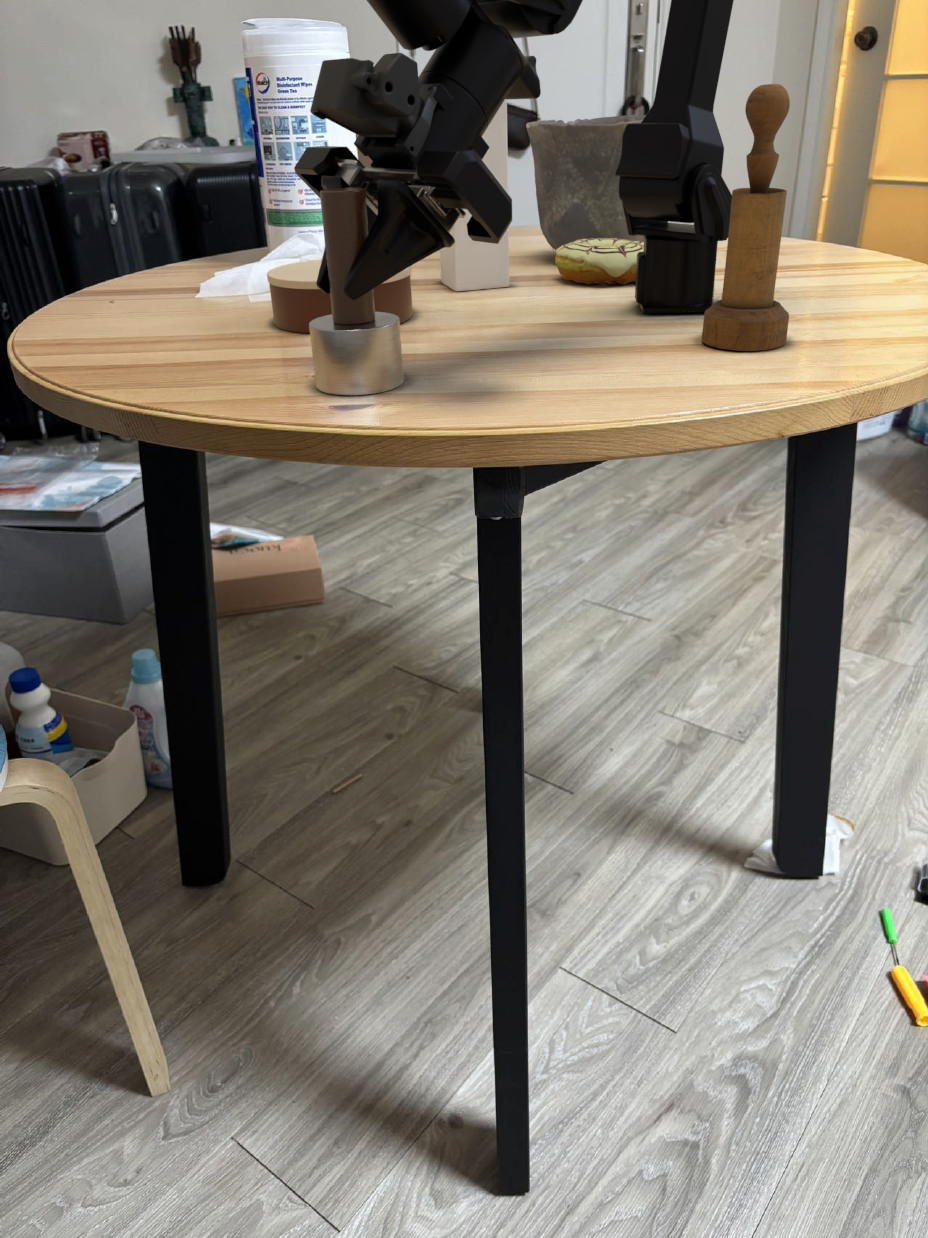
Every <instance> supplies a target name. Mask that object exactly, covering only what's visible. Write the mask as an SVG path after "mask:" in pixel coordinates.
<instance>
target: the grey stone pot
mask: <svg viewBox="0 0 928 1238" xmlns="http://www.w3.org/2000/svg"><path fill="white" fill-rule="evenodd" d="M646 115H647V114H643V115H640V114H637V115H636V114H632V115H631V114H629V115H617V116H603V117H596V118H595V117H594V118H589V119H588V118H584V119H580V118H577V119H575V120H569V121H567V122H565V121H564V120H562V119H558V120H555V119H548V120H546V119H545V120H539V121H537V120H536V121H531V122H530V121H529V122H527V123H526V125H525V127H526V131H527V134H528V138H529V144H530V147H531V152H532V153H531V154H532V158H533V168H534V184H535V196H536V204H537V214H538V221H539V226H540V230H541V233H542V235H543V236H544V238H545V240H546V242H547V243H548V245H549V246H550V248H552V249H553V250H554V251H556V249H558V248H559V247H561V246H563V245H565V244H569V243H571V242H573V241H576V240H579V239H592V238H615V239H625V240H633V241H639V242H644V236H643V235H635V236H633V235H629V234H628V229H627V224H626V219H625V214H624V209H623V204H622V200H620V198H619V191H618V190H619V178H620V176H616V175H615V172H616V170H617V167H618V165H619V162H620V158H621V153H622V139H623V133H624V130H625V128H626V126H627V124H628V123H641V122H642V120H643V119H644V118H645V116H646Z"/></svg>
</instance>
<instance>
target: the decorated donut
mask: <svg viewBox="0 0 928 1238" xmlns="http://www.w3.org/2000/svg"><path fill="white" fill-rule="evenodd" d="M643 250H644V242H639V241H633V240H625V239H615V238H592V239H579V240H576V241H573V242H571V243H569V244H565V245H563V246H561V247H559V248H558V249H556V250H555V258H554V262H555V265H556V267H557V270H558V272H559V274H560V275H561V276H562V277H563V278H564V280H565V281H573V282H574V283H576V284H586V285H594V284H599V285H604V284H606V283H607V284H610V285H616V284H617V283H619V284H620V285H626V284H628V283H629V284H630V283H634V282H635V283H636V263H637V254H638V253H639V252H643Z"/></svg>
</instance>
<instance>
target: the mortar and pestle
mask: <svg viewBox="0 0 928 1238" xmlns="http://www.w3.org/2000/svg"><path fill="white" fill-rule="evenodd" d="M790 103H791V101H790V95H789V93H788V91H787V89H786V88H785V87H784V86H783V85H782V84H780V83H769V84H761V85H759V86H757V87H755V88H754V89H753V90H752V91H751V92H750V94H749V95H748V97H747V100H746V103H745V108H744V109H745V111H744V112H745V116H746V117H745V118H746V120H747V122H748V124H749V125H748V126H749V127H750V129H751V133H752V135H753V143H752V147H751V149H750V152H749V153H748V154H746V171H747V177H748V184H749V187H739V188H735V189H733V190H732V192H731V194H732V201H731V213H730V224H729V235H728V238H727V246H726V257H725V265H724V274H723V284H722V293H721V299H718V300H716V301H714V304H713V305H712V306H711V307H710V308H708V309H707V310H706V311H705V312H703V313H704V314H703V320H702V321H703V323H702V332H701V341H702V343H704V344H705V345H707V346H709V347H713V348H716V349H720V350H730V351H739V352H759V351H769V350H774V349H778V348H781V347H783V346H784V345H785V344H786V343H787V338H788V330H789V323H790V322H789V321H790V313H789V312H788V311H787V310H786V309H785V308H784V307H783V305H782V304H781V303H780V302H779V301H777V300H774V298H775V290H776V281H777V274H778V266H779V257H780V249H781V242H782V234H783V226H784V217H785V211H786V210H785V209H786V202H787V194H788V190H786V189H783V188H777V187H770V186H771V183H772V180H773V177H774V174H775V172H776V169H777V166H778V162H779V158H780V154H779V153H777V152H776V150H775V146H774V142H775V139H776V136H777V134H778V132H779V130H780V129H781V127H782V125H783V123H784V121H785V120H786V118H787V117H788V114H789V111H790V105H791V104H790Z"/></svg>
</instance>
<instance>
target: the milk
mask: <svg viewBox="0 0 928 1238" xmlns="http://www.w3.org/2000/svg"><path fill="white" fill-rule="evenodd" d="M482 138H483V139H484V141H485V142H486V143H487V145H488V146H489V147H490V148H489V149H488V151H487V152H486V154H485V156H484V157H483V159H481V160H482V161H483V162H484V164H485V165H486V166H487V167H488V169H489V170H490V171H491V173H492V174H493V175H494V177H495V178H496V179H497V180H498V182H499V183H500V184H501V186H502V187H503V188H504V190H505V191H506V192H507V193H508V194H509V156H508V155H509V154H508V151H509V150H508V149H509V148H508V99H505V100H504V102H503V103H502V105H501V106H500V108H499V110H498V111H497V113H496V114H495V116H494V118H493V119H492V121H491V123H490V124H489V126H488V127H487V129H486V131H485V132H484V134H483V135H482ZM463 210H464V211H465V213H466V215H465V217H464V218H458V219H457V221H456V223H455V224H454V226H453V228H452V229H451V231H450V232H449V233H450V234H451V235H452V237H453V238H454V239H455V243H454V244H453V245H452V246H451V247H444V248H442V249H440V250H439V264H440V265H439V266H440V282H441V284H443V285H445V286H446V287H448V288H450V289H452V291H454V292H457V293H458V292H466V291H467V292H469V291H479V290H491V289H499V288H509V287H510V234H509V233H510V232H509V231H510V230H509V229H510V228H509V227H510V226H509V227H508V228H507V230H506V232H505V233H504V235H503V236H502V238H501V240H500V241H499V243H498V244H495V243H487V242H479V241H473V240H472V239H471V238H470V237H469V236H468V231H467V223H468V221H469V220H470V218H471V216H472V215H471V214H470V213H469V211H468V210H467V209H463Z"/></svg>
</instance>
